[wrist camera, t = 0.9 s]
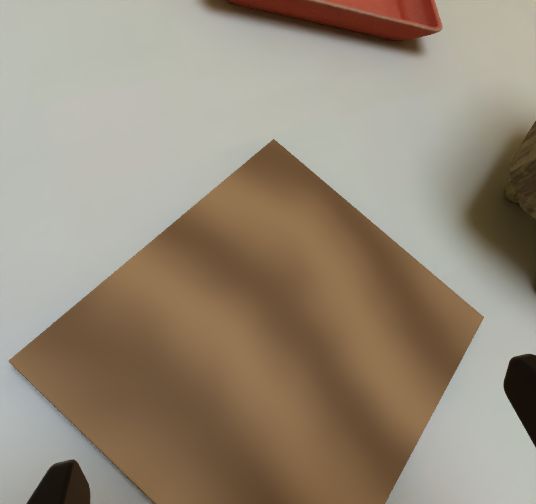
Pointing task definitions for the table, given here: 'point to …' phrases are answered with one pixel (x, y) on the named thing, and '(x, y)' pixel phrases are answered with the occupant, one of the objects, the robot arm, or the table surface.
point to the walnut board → (258, 349)
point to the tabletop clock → (524, 175)
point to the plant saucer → (361, 15)
